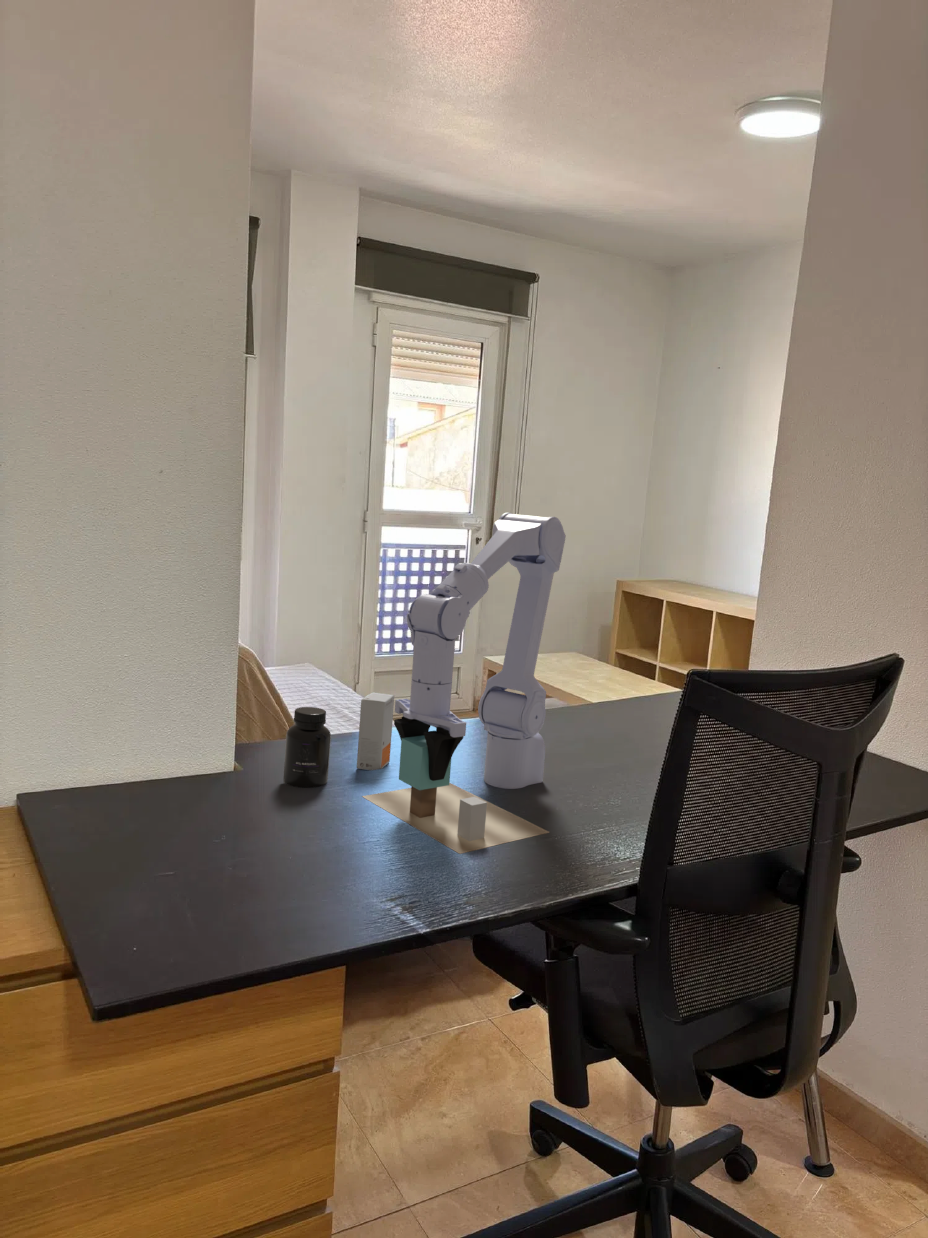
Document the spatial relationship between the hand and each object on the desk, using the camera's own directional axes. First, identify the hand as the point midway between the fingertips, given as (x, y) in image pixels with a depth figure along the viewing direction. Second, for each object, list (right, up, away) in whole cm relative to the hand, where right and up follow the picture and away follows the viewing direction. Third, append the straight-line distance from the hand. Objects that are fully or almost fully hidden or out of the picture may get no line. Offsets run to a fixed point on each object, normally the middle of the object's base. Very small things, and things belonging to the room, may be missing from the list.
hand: (424, 773), depth 130 cm
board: (+4, -7, +2) cm, 8 cm away
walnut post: (0, -6, +1) cm, 6 cm away
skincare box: (-10, -3, +24) cm, 26 cm away
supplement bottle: (-19, -4, +12) cm, 23 cm away
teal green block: (0, -1, 0) cm, 1 cm away
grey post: (+7, -8, -6) cm, 12 cm away
